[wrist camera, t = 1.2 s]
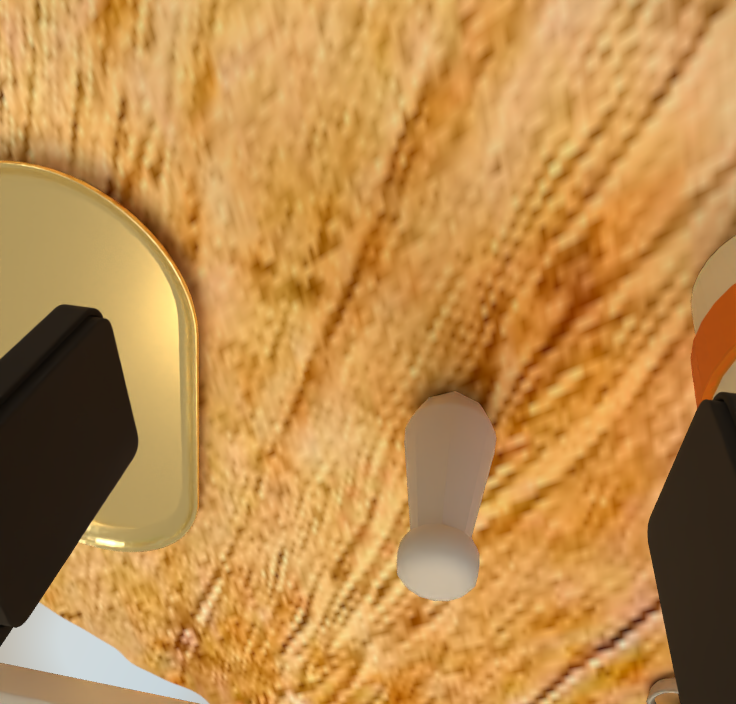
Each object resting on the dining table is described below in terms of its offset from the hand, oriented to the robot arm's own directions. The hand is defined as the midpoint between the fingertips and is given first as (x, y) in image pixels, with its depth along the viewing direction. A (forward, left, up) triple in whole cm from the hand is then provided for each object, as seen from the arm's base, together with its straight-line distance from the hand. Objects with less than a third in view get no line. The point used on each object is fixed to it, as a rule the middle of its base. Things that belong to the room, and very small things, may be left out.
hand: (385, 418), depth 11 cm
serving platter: (-17, -30, -25) cm, 43 cm away
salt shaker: (+8, -20, -26) cm, 34 cm away
